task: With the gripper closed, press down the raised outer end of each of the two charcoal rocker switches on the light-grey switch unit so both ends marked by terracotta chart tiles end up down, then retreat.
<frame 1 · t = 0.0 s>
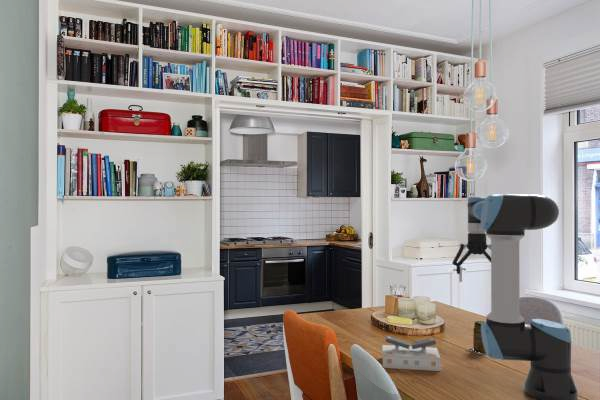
hand: (477, 282, 205), 28 cm above the table, fingers open, 13 cm apart
rocker 2: (423, 343, 182), point 8 cm above the table, hinge at -15.0°
rocker 1: (397, 341, 184), point 8 cm above the table, hinge at 15.0°
condiment: (479, 351, 199), on the table
switch unit: (410, 364, 183), on the table
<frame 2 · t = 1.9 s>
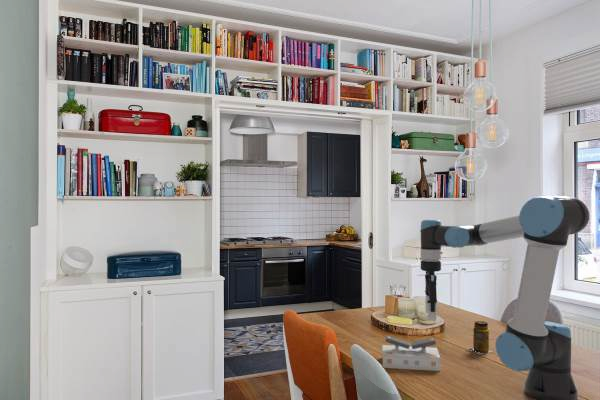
hand: (430, 316, 182), 19 cm above the table, fingers open, 12 cm apart
nothing on the table moved.
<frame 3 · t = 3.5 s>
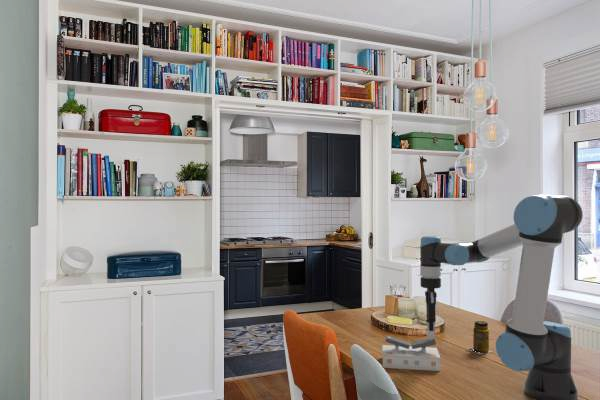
hand: (430, 338, 182), 10 cm above the table, fingers closed
rocker 2: (423, 343, 182), point 8 cm above the table, hinge at -14.2°, touching gripper
everything else where it was.
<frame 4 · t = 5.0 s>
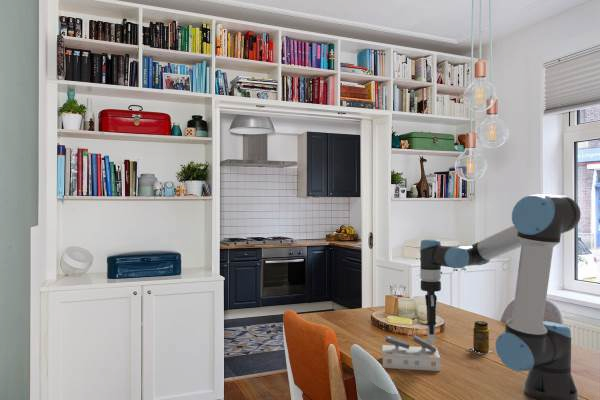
hand: (431, 341, 181), 9 cm above the table, fingers closed
rocker 2: (424, 343, 182), point 8 cm above the table, hinge at 28.0°
everything else where it was.
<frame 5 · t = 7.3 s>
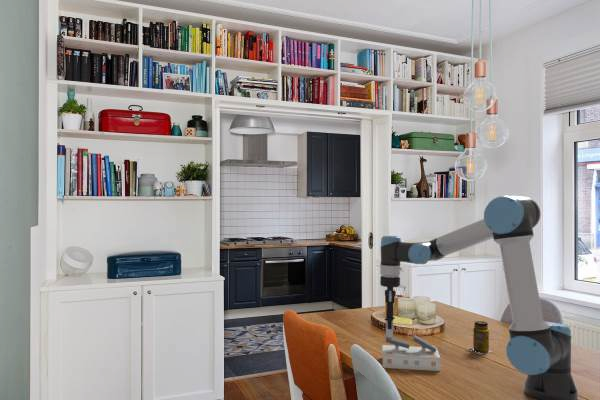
hand: (389, 336, 184), 10 cm above the table, fingers closed
rocker 1: (397, 341, 184), point 8 cm above the table, hinge at 13.4°, touching gripper
everything else where it was.
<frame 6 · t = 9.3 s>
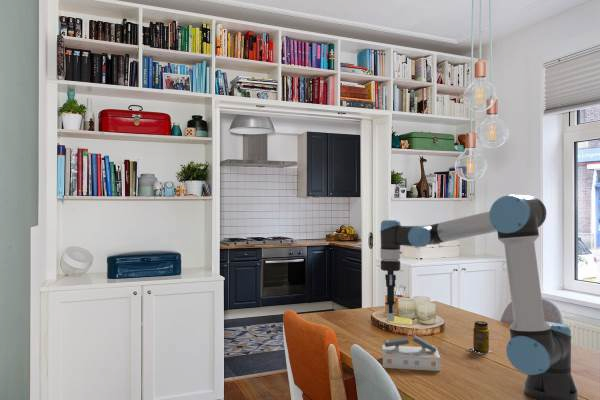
hand: (390, 320, 184), 16 cm above the table, fingers closed
rocker 1: (396, 341, 184), point 8 cm above the table, hinge at -11.6°
everything else where it was.
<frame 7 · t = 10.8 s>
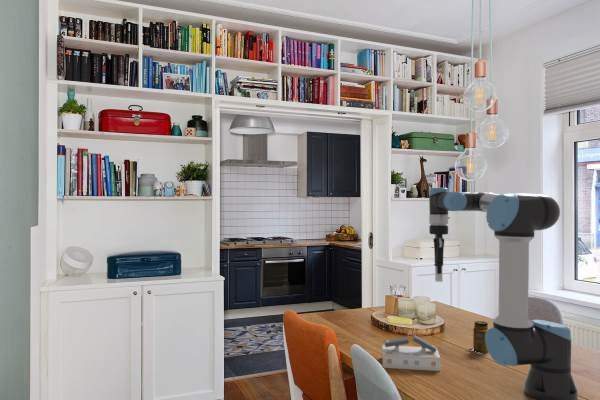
hand: (438, 281, 198), 29 cm above the table, fingers closed
rocker 1: (396, 341, 184), point 8 cm above the table, hinge at -12.2°
everything else where it was.
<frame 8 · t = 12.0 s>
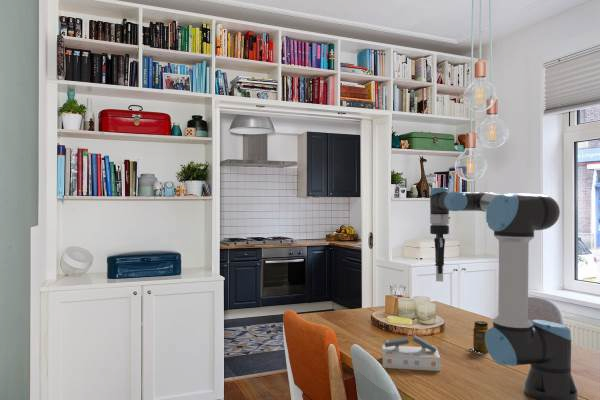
hand: (439, 281, 198), 29 cm above the table, fingers closed
nothing on the table moved.
at the end: rocker 2 at +28° (first picture: -15°); rocker 1 at -12° (first picture: +15°) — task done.
